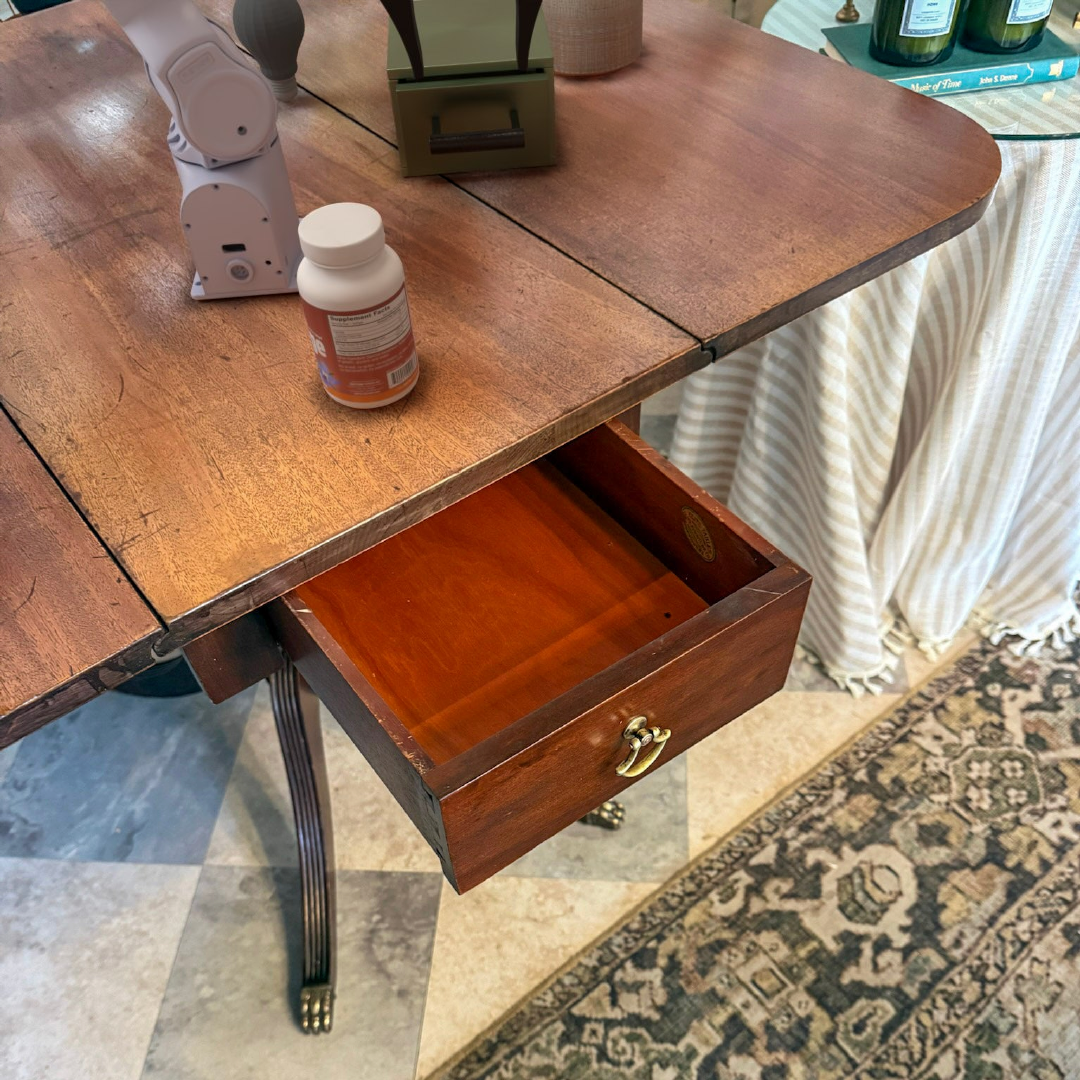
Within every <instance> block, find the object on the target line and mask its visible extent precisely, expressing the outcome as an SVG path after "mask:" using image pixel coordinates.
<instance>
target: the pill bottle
mask: <svg viewBox="0 0 1080 1080" xmlns="http://www.w3.org/2000/svg"><path fill="white" fill-rule="evenodd" d="M302 218H303V220H302V221H301V222H300V224H299V227H298V234H299V239H300V244H301V248H302V251H303V253H304V256H305V257H304V258H303V260H302V261H301V263H300V265H299V268H298V272H297V284H298V289H299V292H298V294H299V298H300V301H301V305H302V309H303V313H304V317H305V321H306V325H307V328H308V333H309V336H310V341H311V345H312V349H313V351H314V358H315V361H316V363H317V366H318V368H317V369H318V371H319V377H320V380H321V383H322V385H323V386H322V387H323V388H324V390H325V391H326V393H327V395H328V396H329V397H330V398H331V399H333V400H334V401H335V402H337V403H339V404H341V405H344V406H346V407H349V408H354V409H360V410H361V409H362V410H363V409H364V410H366V409H375V408H380V407H384V406H388V405H390V404H392V403H395V402H397V401H399V400H400V399H403V398H404V397H405V396H406V395H408V394H409V393H411V391H412V390H413V389H414V387H415V386H416V385H417V382H418V379H419V376H420V365H419V364H420V363H419V356H418V351H417V346H416V337H415V332H414V327H413V321H412V315H411V314H412V313H411V309H410V301H409V295H408V290H407V289H408V288H407V283H406V276H405V271H404V266H403V263H402V260H401V258H400V257H399V255H398V254H397V252H396V251H395V250H394V249H393V248H392V247H390V245H388V244H387V243H386V233H385V229H384V224H383V219H382V216H381V214H380V213H379V212H378V211H377V210H376V209H375V208H373V207H372V206H370V205H367V204H364V203H359V202H346V201H345V202H336V203H331V204H328V205H323V206H321V207H319V208H316V209H314V210H312V211H310V212H309V213H308V214H307V215H305V216H304V217H302Z"/></svg>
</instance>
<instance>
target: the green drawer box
mask: <svg viewBox="0 0 1080 1080" xmlns="http://www.w3.org/2000/svg"><path fill="white" fill-rule="evenodd" d="M413 3H414V12H415V18H416V24H417V29H418V34H419V39H420V44H421V49H422V56H423V65H424V77H433V76H446V75H459V74H472V73H485V72H498V71H511V70H518V65H517V59H516V45H515V39H516V0H413ZM387 27H388V28H387V48H386V49H387V50H386V52H387V53H386V76H387V81H388V89H389V96H390V101H391V103H390V104H391V109H392V116H393V123H394V129H395V137H396V143H397V150H398V155H399V156H398V157H399V163H400V169H401V176H402V177H403V178H409V177H411V176H408V171H407V164H406V157H405V150H404V143H403V136H402V130H401V123H400V116H399V109H398V102H397V95H396V84H406V79H407V78H414V75H413V70H412V67H411V63H410V60H409V57H408V54H407V52H406V49H405V47H404V44H403V42H402V40H401V37H400V35H399V33H398V31H397V29H396V27H395V25H394V23H393V21H392V20H391V18H390V16H389V15H388V26H387ZM528 69H536V74H538V73H547V77H548V92H549V122H550V152H551V165H546V166H545V167H549V166H557V163H558V161H557V160H558V159H557V128H556V95H555V93H556V92H555V74H554V57H553V53H552V49H551V44H550V40H549V36H548V31H547V27H546V22H545V18H544V14H543V9H542V5H541V6H540V9H539V12H538V15H537V19H536V22H535V26H534V30H533V34H532V39H531V44H530V50H529V58H528ZM534 167H537V166H533V167H532V168H534ZM521 168H522V169H523V168H525V167H521ZM509 169H512V168H508V169H507V170H509ZM495 170H496V171H497V170H500V169H495ZM495 170H494V171H495ZM485 171H487V170H483V171H482V172H485ZM471 172H474V171H470V172H469V173H471ZM457 173H460V174H461V173H462V172H457ZM457 173H456V174H457ZM447 174H449V173H445V174H444V175H447ZM434 175H436V174H432V175H431V176H434ZM422 176H424V175H419V176H418V177H422Z"/></svg>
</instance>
